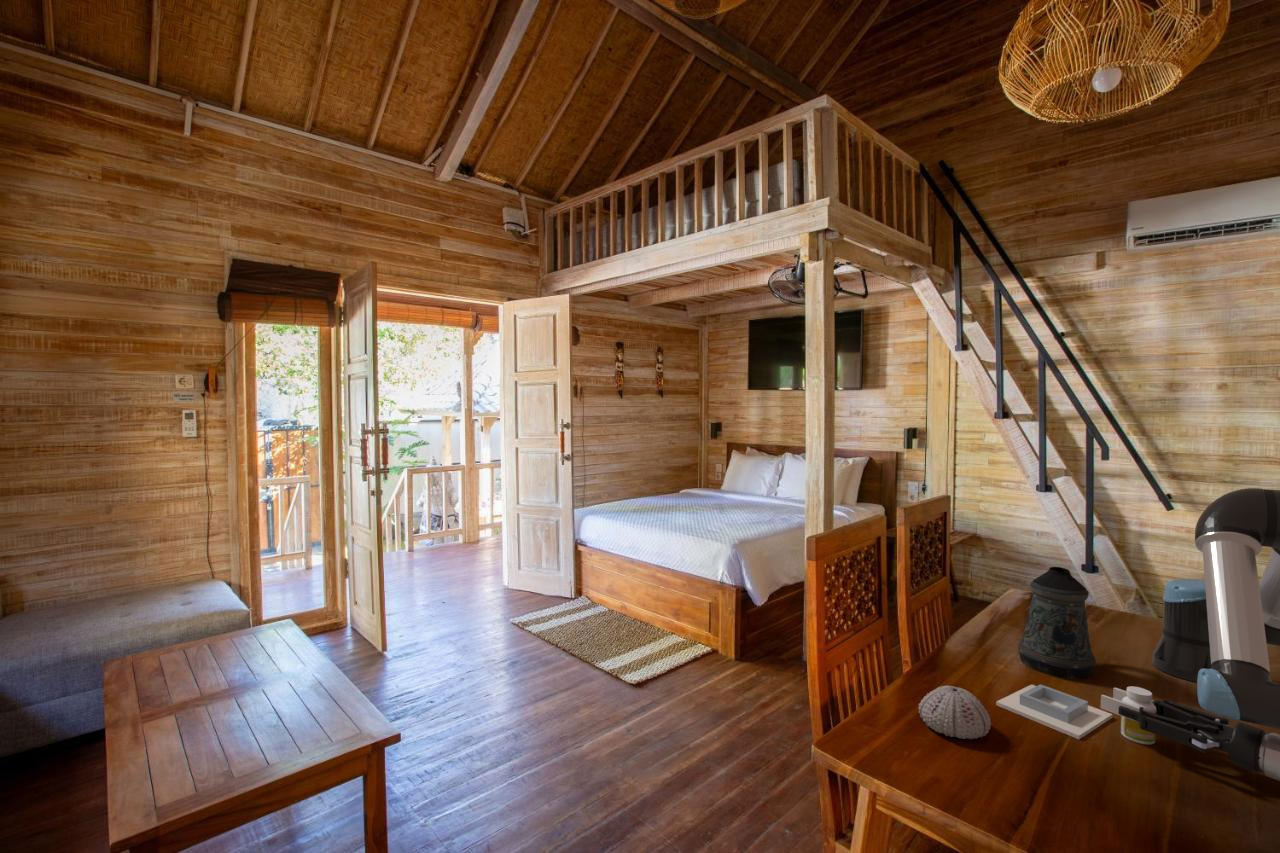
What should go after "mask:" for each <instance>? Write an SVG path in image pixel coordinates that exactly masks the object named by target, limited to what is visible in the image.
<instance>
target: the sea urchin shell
mask: <svg viewBox="0 0 1280 853" xmlns="http://www.w3.org/2000/svg"><path fill="white" fill-rule="evenodd" d="M917 709H918V714H919V717H920V718H922V722H924V723H925V725H926V726H927V727H929V728H930V729H931V730H933V731H935V732H936V733H938V734H944V735H945V736H946V737H951V738H954V737H955V738H958V739H962V740H966V739H968V740H974V739H978V738H980V739H981V738H983V737H985V736H987V734H989V733H990V732H989V731H990V730H991V725H992V722H991V720H992V719H991V717H990V714H989V713H988V710H987V709H986V707H985V706H984V705H983V704H982V703H981V700H979V699H978V697H977V696H974V694H973V693H971V692H970V691H968V690H966V689H964V688H962V687H958V686H957V687H956V686H953V685H942V686H938V687H936V688H935V689H933V690H931V691H930V692H927V693H926V695H925V696H923V698H922V699H921V700H920V703H918V707H917Z"/></svg>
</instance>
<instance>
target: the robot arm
mask: <svg viewBox="0 0 1280 853" xmlns="http://www.w3.org/2000/svg"><path fill="white" fill-rule="evenodd" d="M1196 522H1197V523H1196V525H1195V528H1194V542H1195V543H1194V544H1195V547H1196V549H1197V550H1198V552H1201V553H1202V559H1203V560H1202V562H1203V573H1204V578H1177V579H1172V580H1169V581H1168V582H1167V583H1166V584H1165V587H1164V592H1163V593H1164V594H1163V596H1162V599H1163V618H1162V634H1161V635H1162V636H1161V638H1160V640H1159V641H1158V644H1157V645H1156V648H1155V649H1154V651H1153V653H1152V658H1151V660H1152V661H1151V663H1152V665H1153V666H1154V667H1155V668H1157V669H1158V670H1160V671H1161V672H1164V673H1166V674H1168V675H1171V676H1174V677H1177V678H1178V679H1182V680H1186V681H1191V682H1194V683H1197V685H1196V686H1197V690H1196V691H1197V700H1198V704H1199V706H1200V707H1201V709H1202V710H1204V711H1205V712H1204V711H1201V710H1197V709H1195V708H1192V707H1188V706H1185V705H1183V704H1180V703H1177V702H1175V701H1171V700H1168V699H1165V698H1164V699H1161V700H1157V699H1156V700H1154V699H1152V701H1151V703H1153V704H1154V705H1155V707H1156V714H1152V713H1149V712H1145V711H1143V709H1144V707H1137V706H1134V705H1131V704H1128V703H1125V702H1122V699H1123V698H1124V697H1126V696H1127V693H1126V692H1127V690H1123V689H1121V688H1118V687H1113V690H1112V691H1113V692H1112V697H1111V696H1109V695H1104V694H1101V695H1100V710H1103V711H1105V712H1108V713H1109V712H1110V713H1111V714H1112V713H1113V714H1115V715H1117V716H1120V717H1121V716H1123V717H1126V718H1128V719H1131V720H1134V721H1136V722H1139V728H1140V729H1143V730H1145V731H1148V732H1151V733H1154V734H1155V736H1156V735H1158V736H1160V737H1163V738H1165V739H1168V740H1170V741H1173V742H1176V743H1179V744H1182V745H1185V746H1188V747H1190V748H1192V749H1194V750H1196V751H1198V752H1201V753H1202V754H1208V749H1211V750H1214V751H1219V752H1224V753H1227V754H1228V755H1229V759H1230V761H1231V763H1233V765H1235V766H1238V767H1240V768H1243V769H1246V770H1248V771H1251V772H1253V773H1256V774H1259V773H1262V772H1263V773H1264V775H1265V776H1266V777H1268V778H1271V779H1273V780H1276V781H1278V782H1280V734H1278V733H1276V732H1270V733H1269V734H1268V732H1267V731H1266V730H1265V729H1262V728H1259V727H1257V726H1254V725H1250V724H1248V723H1252V724H1255V725H1259V726H1265V727H1268V728H1273V729H1278V730H1280V683H1279V682H1275V681H1272V677H1271V668H1270V661H1269V660H1270V659H1269V653H1268V646H1269V645H1270V646H1273V647H1280V489H1267V488H1260V487H1247V488H1240V489H1237V490H1234V491H1230V492H1227V493H1225V494H1223V495H1221V496H1220V497H1218V498H1216V499H1215V500H1213V502H1211V503H1210V504H1209V505H1208V506H1206V508H1205V509H1203V512H1202V513H1201V515H1200V516H1199V518H1198V519H1197V521H1196ZM1263 547H1267V548H1271V549H1272V550H1271V553H1270V555H1269V556H1268V557H1269V558H1268V560H1267V563H1266V565H1265V568H1264V570H1263V572H1262V575H1261V578H1260V580H1259V575H1258V574H1259V573H1258V567H1257V566H1258V564H1257V558H1256V556H1258V555H1259V554H1260V553H1261V552H1262V550H1263V549H1262V548H1263ZM1207 712H1208V713H1207ZM1209 713H1212V714H1209ZM1213 714H1215V715H1217V716H1215V715H1213ZM1221 716H1222V717H1221ZM1224 717H1225V718H1224ZM1230 719H1232V720H1233V721H1242V722H1236V723H1235V725H1234V727H1231V726H1229V725H1230ZM1245 722H1246V723H1245Z"/></svg>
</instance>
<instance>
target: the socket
mask: <svg viewBox="0 0 1280 853" xmlns="http://www.w3.org/2000/svg"><path fill="white" fill-rule="evenodd" d="M995 705H996V707H997V706H998V707H1000V708H1002V709H1004V710H1007V711H1009V712H1012V713H1015V714H1016V715H1019V716H1022V717H1024V718H1026V719H1028V720H1031V721H1033V722H1036V723H1038V724H1041V725H1042V726H1045V727H1048V728H1051V729H1053V730H1056V731H1057V732H1060V733H1063V734H1064V735H1068V736H1070V737H1072V738H1074V739H1077V740H1080V739H1082V738H1084V737H1086V736H1087V735H1088V734H1089V733H1091V732H1092V731H1094V730H1096V729H1097V728H1099V727H1101V726H1102V725H1104V724H1105V723H1107V722H1108V721H1110V720H1111V719H1113V714H1112V713H1111V712H1110V713H1109V711H1106V710H1103V709H1101V708H1100V709H1099V708H1096V707H1094V706H1091V705H1089V701H1088V700H1085V699H1082V698H1079V697H1078V696H1077V697H1076V696H1074V695H1071V694H1069V693H1066V692H1063V691H1060V690H1057V689H1055V688H1052V687H1049V686H1046V685H1044V684H1038V685H1037V686H1036V685H1035V684H1030V685H1027V686H1025V687H1023V688H1022V689H1020V690H1017V691H1015V692H1013V693H1011V694H1009V695H1007V696H1005V697H1002V698H1000V699H998V700H997V701H996V703H995Z"/></svg>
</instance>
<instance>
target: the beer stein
mask: <svg viewBox="0 0 1280 853" xmlns="http://www.w3.org/2000/svg"><path fill="white" fill-rule="evenodd" d="M1029 585H1030V589H1031V592H1032V598H1031V601H1030V602H1031V603H1030V606H1029V611H1028V615H1027V620H1026V623H1025V627H1024V631H1023V633H1022V635H1021V636H1022V637H1021V638H1020V640H1019V642H1018V644H1017V651H1018V655H1019V659H1020V662H1021V661H1022V662H1023V663H1022V662H1021V663H1022V664H1024V666H1026V667H1029V669H1031V670H1034V671H1036V672H1039V673H1042V672H1043V673H1042V674H1044V675H1045V674H1046V675H1048V674H1049V676H1051V675H1052V677H1056V676H1057V678H1061V677H1062V678H1063V679H1067V680H1084V679H1088V678H1091V677H1093V674H1094V670H1095V667H1096V666H1097V661H1096V660H1097V659H1096V658H1095V655H1094V654H1093V649H1092V647H1091V640H1090V631H1089V626H1088V617H1087V611H1086V610H1087V609H1086V601H1087V600H1088V597H1089V595H1090V592H1089V591H1088V589H1087V587H1086V586H1084V585H1083V584H1082V583H1081V582H1080V581H1079V580H1077V579H1076V578H1075V577H1074V576H1073V575H1072V573H1071V572H1070V570H1069V569H1068V568H1065V567H1061V566H1051V567H1049V568H1048V570H1047V571H1046V572H1044V573H1042V574H1041V575H1039V576H1037V577H1036V578H1034V579H1033V580H1032V581H1031V582H1030V584H1029Z"/></svg>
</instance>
